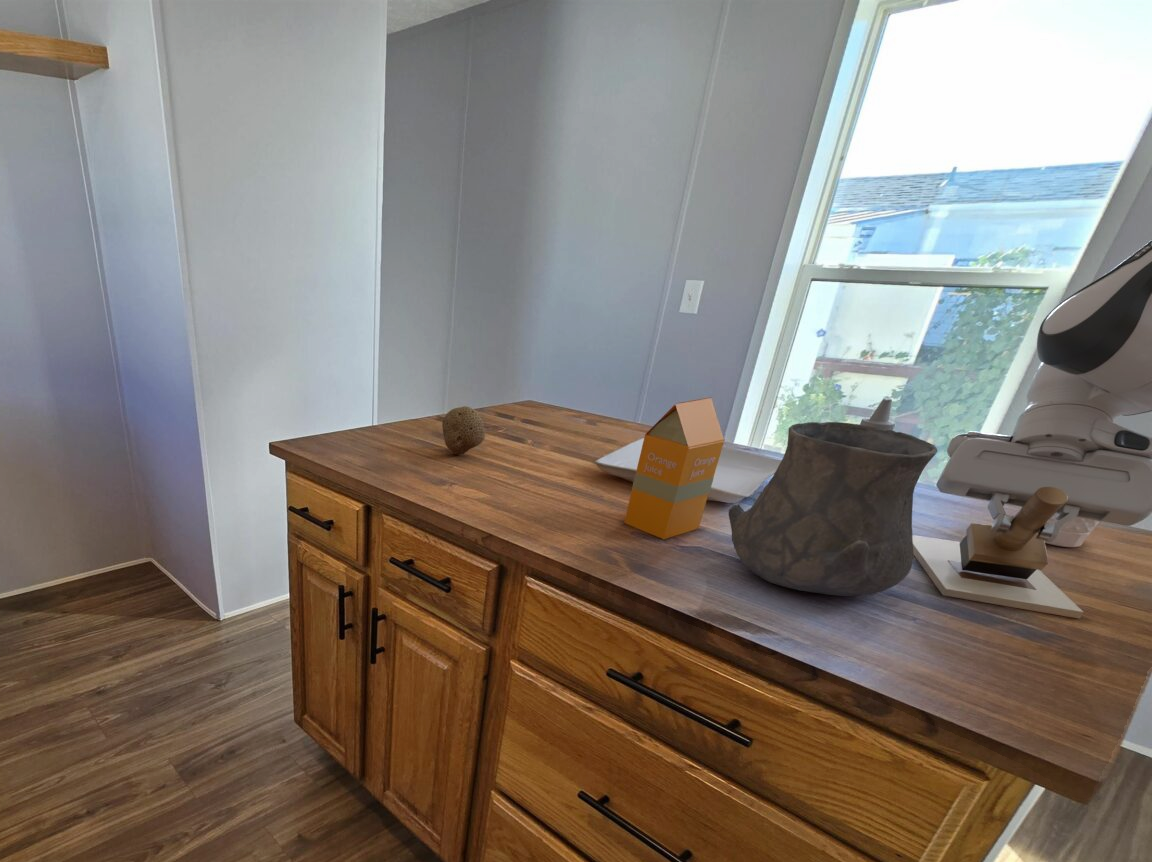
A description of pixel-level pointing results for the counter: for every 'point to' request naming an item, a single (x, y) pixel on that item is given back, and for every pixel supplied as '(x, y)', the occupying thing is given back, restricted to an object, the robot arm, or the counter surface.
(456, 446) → the natural sponge
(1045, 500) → the scrub brush
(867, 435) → the vessel
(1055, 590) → the cream rectangular board
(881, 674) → the counter surface
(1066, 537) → the white cup
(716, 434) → the orange juice
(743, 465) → the square plate
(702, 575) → the counter surface
